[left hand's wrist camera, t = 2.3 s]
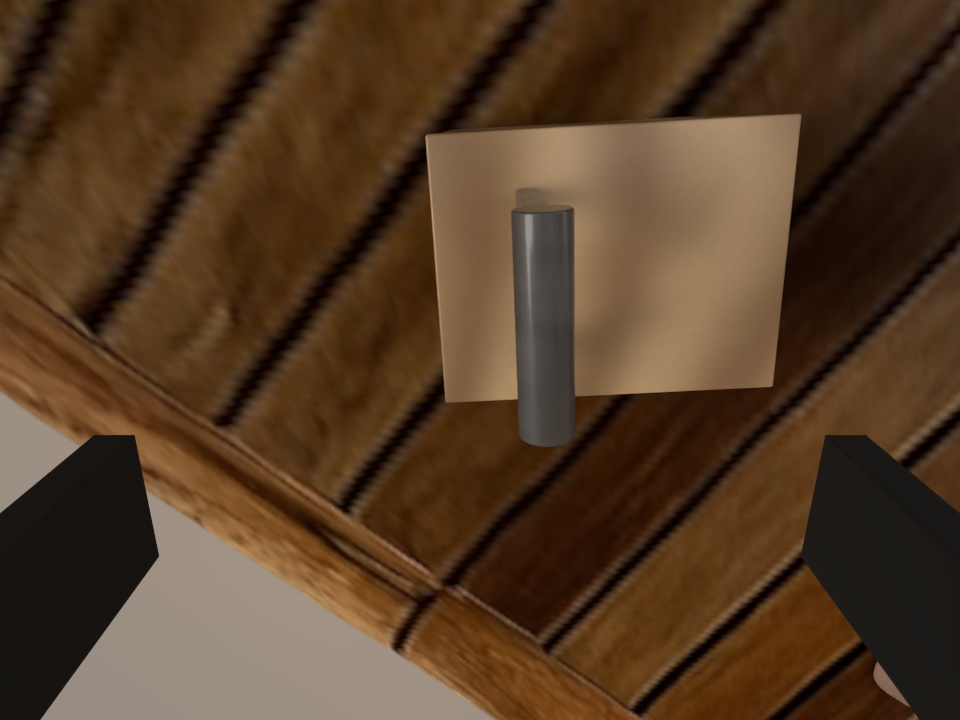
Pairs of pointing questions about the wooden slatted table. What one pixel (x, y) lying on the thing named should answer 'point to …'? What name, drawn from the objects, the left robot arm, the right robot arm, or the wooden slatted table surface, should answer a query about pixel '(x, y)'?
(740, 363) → the lid
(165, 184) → the wooden slatted table surface
